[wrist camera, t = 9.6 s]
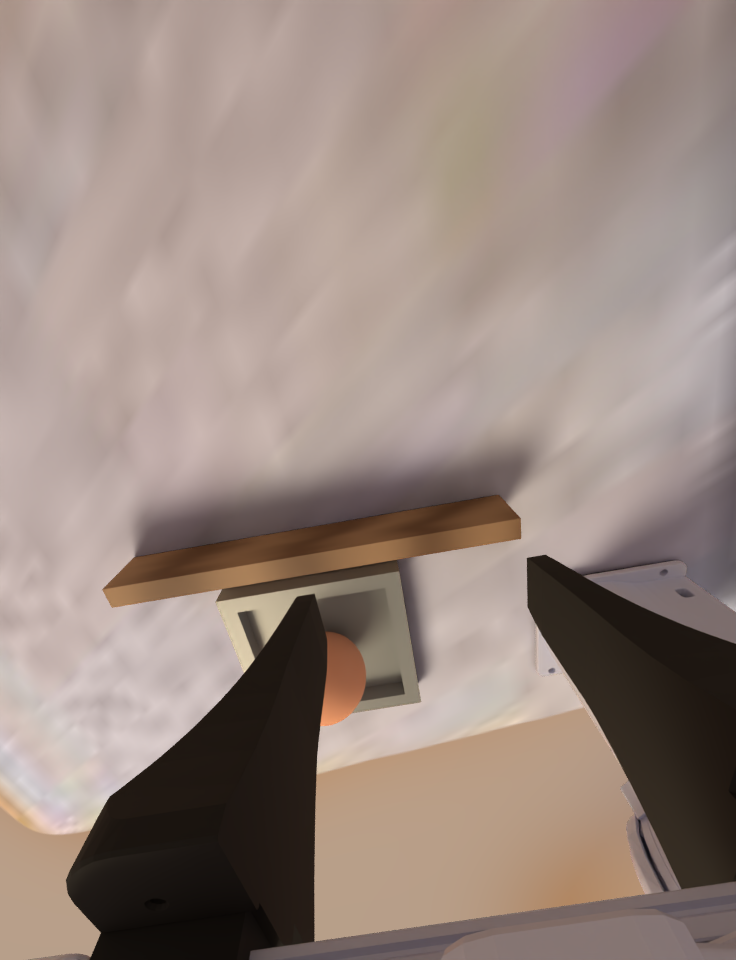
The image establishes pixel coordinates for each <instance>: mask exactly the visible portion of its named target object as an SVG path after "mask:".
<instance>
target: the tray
mask: <svg viewBox="0 0 736 960" xmlns="http://www.w3.org/2000/svg"><path fill="white" fill-rule="evenodd" d="M314 593H315V597H316V600H317V604H318V608H319V611H320V615H321V618H322V622H323V626H324V629H325V632H335V633H338V634H341V635H343V636H345V637H347V638H348V639H349V640H351V641H352V642H353V643H354V644H355V645H356V647H357V648H358V650H359V651H360V653H361V655H362V657H363V660H364V663H365V669H366V684H365V689H364V693H363V695H362V698H361V700H360V702H359V704H358V705H357V707H356V708H355V709H354V711H353V712H352V713H356V712H362V711H369V710H375V709H381V708H388V707H394V706H400V705H407V704H413V703H419V702H421V699H420V693H419V687H418V681H417V675H416V669H415V663H414V657H413V651H412V645H411V639H410V633H409V627H408V621H407V615H406V609H405V603H404V597H403V591H402V585H401V579H400V573H399V568H398V563H397V560H392V561H386V562H380V563H374V564H368V565H362V566H356V567H350V568H344V569H338V570H333V571H327V572H321V573H315V574H309V575H303V576H297V577H291V578H285V579H279V580H273V581H267V582H261V583H255V584H250V585H244V586H238V587H232V588H226V589H222V591H221V593H220V595H219V597H218V599H217V600H216V604H217V607H218V609H219V612H220V614H221V617H222V619H223V621H224V624H225V626H226V629H227V631H228V634H229V636H230V639H231V641H232V644H233V646H234V649H235V651H236V654H237V656H238V659H239V661H240V664H241V666H242V669H243V671H244V673H245V671H246V670H247V669H248V668H249V666H250V665H251V664H252V662H253V661H254V660H255V658H256V657H257V656H258V654H259V653H260V652H261V650H262V649H263V647H264V646H265V645H266V643H267V642H268V640H269V639H270V637H271V636H272V634H273V633H274V631H275V630H276V628H277V627H278V625H279V624H280V622H281V620H282V619H283V617H284V616H285V614H286V613H287V611H288V609H289V608H290V606H291V605H292V603H293V601H294V600H295V598H296V597H297V596H303V595H309V594H314Z"/></svg>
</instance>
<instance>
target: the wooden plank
mask: <svg viewBox="0 0 736 960" xmlns="http://www.w3.org/2000/svg"><path fill="white" fill-rule="evenodd" d="M516 539H521V518H520V517H519V516H518V515H517V514H516V513H515V512H514V511H513V510H512V509H511V507H510V506H509V505H508V504H507V503H506V502H505V501H504V500H503V499H502V498H501V497H500V496H499V495H495V496H489V497H483V498H477V499H471V500H466V501H460V502H454V503H448V504H442V505H437V506H431V507H425V508H419V509H413V510H408V511H402V512H396V513H390V514H384V515H378V516H373V517H367V518H361V519H355V520H349V521H344V522H338V523H332V524H326V525H320V526H314V527H309V528H303V529H297V530H291V531H285V532H280V533H274V534H268V535H262V536H256V537H251V538H245V539H239V540H233V541H227V542H221V543H216V544H210V545H204V546H198V547H192V548H187V549H181V550H175V551H169V552H163V553H158V554H152V555H146V556H140V557H134V558H133V559H132V560H131V561H130V562H129V563H128V564H127V565H126V566H125V567H124V568H123V569H122V570H121V571H120V572H119V573H118V574H117V575H116V576H115V577H114V578H113V579H112V580H111V581H110V582H109V583H108V584H107V585H106V586H105V587H104V588H103V589H102V590H103V592H104V594H105V596H106V597H107V599H108V601H109V603H110V605H111V607H112V608H113V607H119V606H125V605H131V604H137V603H143V602H149V601H155V600H161V599H167V598H172V597H178V596H184V595H190V594H196V593H202V592H208V591H214V590H220V589H226V588H232V587H238V586H244V585H250V584H255V583H261V582H267V581H273V580H279V579H285V578H291V577H297V576H303V575H309V574H315V573H321V572H327V571H333V570H338V569H344V568H350V567H356V566H362V565H368V564H374V563H380V562H386V561H392V560H398V559H404V558H410V557H415V556H421V555H427V554H433V553H439V552H445V551H451V550H457V549H463V548H469V547H475V546H481V545H487V544H493V543H498V542H504V541H510V540H516Z"/></svg>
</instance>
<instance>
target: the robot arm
mask: <svg viewBox="0 0 736 960" xmlns="http://www.w3.org/2000/svg"><path fill="white" fill-rule="evenodd" d="M661 570H662V571H661ZM660 571H661V572H660ZM686 571H687V565H686V564H685V563H683V562H682V561H680V560H675V561H669V562H663V563H657V564H651V565H645V566H639V567H633V568H627V569H621V570H615V571H609V572H603V573H597V574H591V575H584V576H582V575H580V574H579V573H577V572H575V571H573V570H572V569H570V568H568V567H566V566H565V565H563V564H561V563H559V562H558V561H556V560H554V559H552V558H550V557H548V556H547V555H542V556H536V557H530V558H527V594H528V609H529V611H530V613H531V615H532V617H533V619H534V621H535V656H536V671H537V673H538V675H539V676H550V675H557V674H564V676H565V678H566V679H567V681H568V682H569V684H570V686H571V687H572V689H573V690H574V692H575V693H576V695H577V697H578V698H579V700H580V701H581V703H582V705H583V706H584V708H585V709H586V711H587V713H588V714H589V716H590V717H591V719H592V721H593V722H594V724H595V725H596V727H597V729H598V730H599V732H600V733H601V735H602V737H603V738H604V740H605V741H606V743H607V744H608V746H609V748H610V749H611V751H612V753H613V754H614V756H615V757H616V759H617V761H618V762H619V764H620V765H621V767H622V769H623V770H624V772H625V774H626V776H627V778H628V781H627V782H626V783H625V784H624V785H622V786H621V788H620V789H621V791H622V793H623V795H624V796H625V798H626V799H627V801H628V803H629V804H630V806H631V808H632V810H633V811H634V813H635V814H634V815H632V816H631V817H630V818H629V820H628V821H627V827H626V830H627V838H628V842H629V846H630V853H631V858H632V862H633V865H634V868H635V871H636V874H637V876H638V878H639V881H640V884H641V886H642V888H643V890H644V892H645V895H638V896H631V897H624V898H617V899H610V900H603V901H596V902H589V903H582V904H575V905H568V906H561V907H554V908H547V909H540V910H533V911H526V912H519V913H512V914H505V915H498V916H491V917H485V918H477V919H470V920H463V921H456V922H449V923H442V924H435V925H428V926H421V927H414V928H407V929H400V930H393V931H386V932H379V933H372V934H365V935H358V936H351V937H344V938H338V939H330V940H323V941H316V942H314V854H315V850H314V849H315V796H316V770H317V751H318V740H319V732H320V724H321V716H322V708H323V700H324V692H325V684H326V676H327V636H326V633H325V629H324V626H323V622H322V618H321V615H320V611H319V608H318V604H317V600H316V597H315V593H314V594H309V595H303V596H297V597H296V598H295V600H294V601H293V603H292V605H291V606H290V608H289V609H288V611H287V613H286V614H285V616H284V617H283V619H282V620H281V622H280V624H279V625H278V627H277V628H276V630H275V631H274V633H273V634H272V636H271V637H270V639H269V640H268V642H267V643H266V645H265V646H264V647H263V649H262V650H261V652H260V653H259V654H258V656H257V657H256V658H255V660H254V661H253V662H252V664H251V665H250V666H249V668H248V669H247V670H246V671H245V673H244V674H243V675H242V676H241V678H240V679H239V680H238V681H237V683H236V684H235V685H234V686H233V687H232V688H231V689H230V691H229V692H228V693H227V694H226V695H225V696H224V697H223V698H222V699H221V700H220V701H219V702H218V703H217V704H216V705H215V707H214V708H213V709H212V710H211V711H210V712H209V713H208V714H207V715H206V716H205V717H204V718H203V719H202V720H201V721H200V722H199V723H198V724H197V725H196V726H195V727H194V728H192V729H191V730H190V731H189V732H188V733H187V734H186V735H185V736H184V737H183V738H182V739H180V740H179V741H178V742H177V743H176V744H175V745H174V746H173V747H171V748H170V749H169V750H168V751H167V752H166V753H164V754H163V755H162V756H161V757H160V758H159V759H157V760H156V761H155V762H154V763H153V764H151V765H150V766H149V767H148V768H146V769H145V770H144V771H142V772H141V773H140V774H139V775H137V776H136V777H135V778H133V779H132V780H131V781H130V782H128V783H127V784H126V785H125V786H123V787H122V788H121V789H119V790H118V791H117V792H115V793H114V794H113V795H111V796H110V797H109V799H108V800H107V802H106V804H105V806H104V807H103V809H102V811H101V813H100V815H99V816H98V818H97V820H96V822H95V824H94V826H93V828H92V830H91V832H90V834H89V835H88V837H87V839H86V841H85V843H84V845H83V847H82V849H81V851H80V853H79V854H78V856H77V858H76V860H75V862H74V864H73V866H72V868H71V870H70V872H69V874H68V877H67V879H66V883H67V891H68V894H69V896H70V898H71V899H72V901H73V902H74V904H75V905H76V906H77V907H78V908H79V909H80V910H81V911H82V913H83V914H84V915H85V916H86V917H87V918H88V919H89V920H90V921H91V922H92V923H93V924H94V925H95V927H96V928H97V929H98V930H99V931H100V932H101V934H100V937H99V939H98V942H97V944H96V946H95V949H94V951H93V954H92V956H91V957H89V956H87V955H83V954H65V955H58V956H51V957H45V958H37V959H30V960H736V612H734V611H733V610H732V609H730V608H729V607H728V606H726V605H725V604H723V603H722V602H721V601H719V600H718V599H716V598H715V597H714V596H712V595H711V594H709V593H708V592H707V591H705V590H704V589H702V588H701V587H700V586H698V585H697V584H696V583H694V582H693V581H691V580H690V579H689V578H687V577H686Z"/></svg>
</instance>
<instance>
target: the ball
mask: <svg viewBox="0 0 736 960" xmlns="http://www.w3.org/2000/svg"><path fill="white" fill-rule="evenodd" d="M325 633H326V636H327V676H326V684H325V692H324V700H323V708H322V716H321V724H320V726H328V725H332V724H335V723H338V722H340V721H342V720H343V719H345V718H346V717H347V716H349V715H350V714H351V713H352V712H353V711H354V709H355V708H356V707H357V705H358V704H359V702H360V700H361V698H362V695H363V693H364V689H365V684H366V669H365V663H364V660H363V657H362V655H361V653H360V651H359V650H358V648H357V647H356V645H355V644H354V643H353V642H352V641H351V640H349V639H348V638H347V637H345V636H343V635H341V634H338V633H335V632H325Z"/></svg>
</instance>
